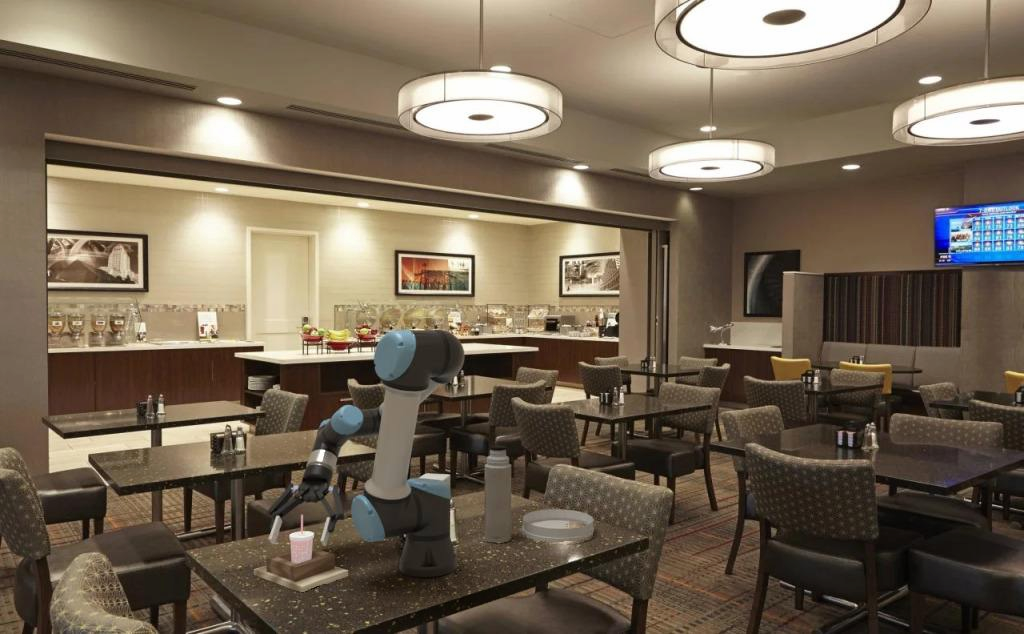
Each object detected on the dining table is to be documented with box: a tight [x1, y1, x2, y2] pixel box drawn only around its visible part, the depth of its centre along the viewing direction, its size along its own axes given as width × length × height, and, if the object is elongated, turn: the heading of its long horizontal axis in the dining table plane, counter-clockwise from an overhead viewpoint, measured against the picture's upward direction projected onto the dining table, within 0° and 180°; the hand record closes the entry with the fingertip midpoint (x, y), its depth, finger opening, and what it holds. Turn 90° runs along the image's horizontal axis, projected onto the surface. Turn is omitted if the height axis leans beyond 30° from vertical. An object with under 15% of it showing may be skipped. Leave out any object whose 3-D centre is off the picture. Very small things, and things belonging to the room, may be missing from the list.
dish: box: [521, 508, 595, 542], centre depth 217 cm, size 22×22×5 cm
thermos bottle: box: [484, 444, 512, 543], centre depth 211 cm, size 8×8×28 cm
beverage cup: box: [288, 514, 315, 564], centre depth 181 cm, size 6×6×14 cm
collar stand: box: [253, 547, 349, 593], centre depth 181 cm, size 20×14×5 cm
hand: (297, 542), depth 178 cm, fingers open, 13 cm apart
